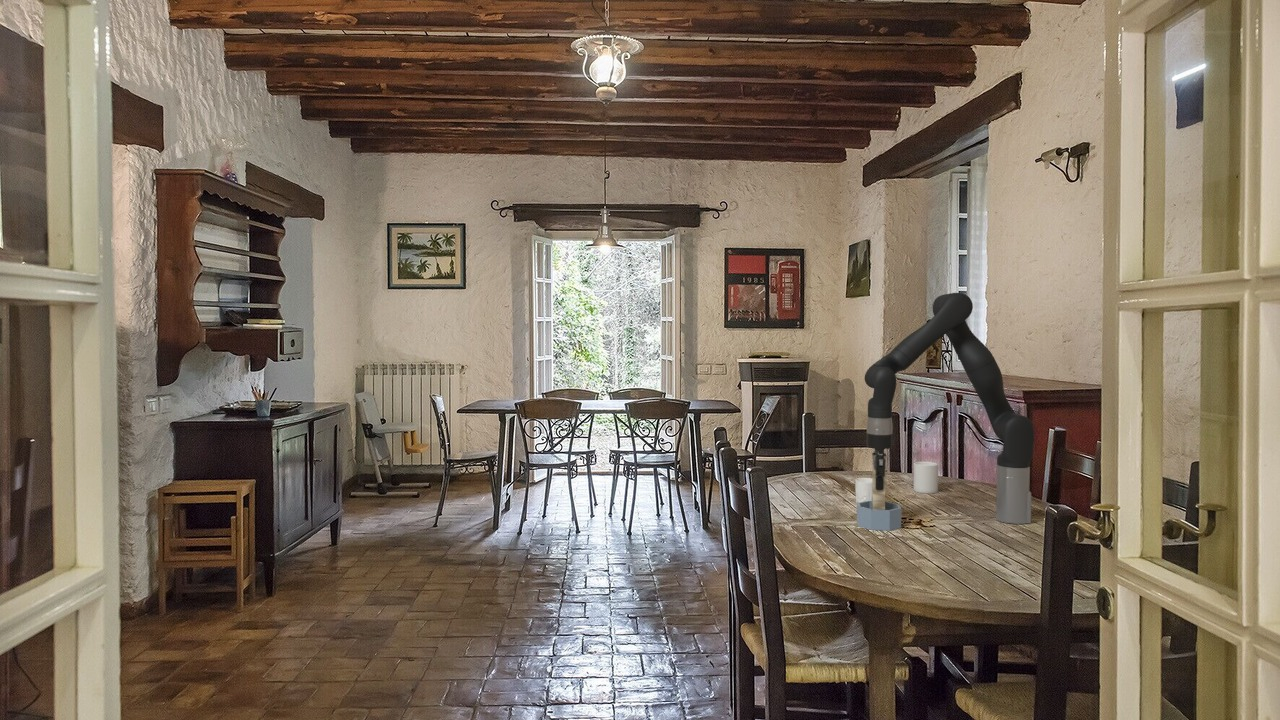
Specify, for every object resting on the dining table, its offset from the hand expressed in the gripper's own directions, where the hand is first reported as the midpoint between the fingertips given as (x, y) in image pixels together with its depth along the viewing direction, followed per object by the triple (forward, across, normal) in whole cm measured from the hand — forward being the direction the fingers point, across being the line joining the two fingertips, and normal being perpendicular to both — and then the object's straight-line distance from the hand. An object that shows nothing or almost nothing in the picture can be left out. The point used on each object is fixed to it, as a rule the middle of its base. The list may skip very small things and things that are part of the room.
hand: (878, 488), depth 242 cm
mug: (+11, +54, -21) cm, 59 cm away
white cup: (+12, +19, +2) cm, 22 cm away
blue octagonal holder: (+11, 0, 0) cm, 11 cm away
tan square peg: (+9, 0, 0) cm, 9 cm away
